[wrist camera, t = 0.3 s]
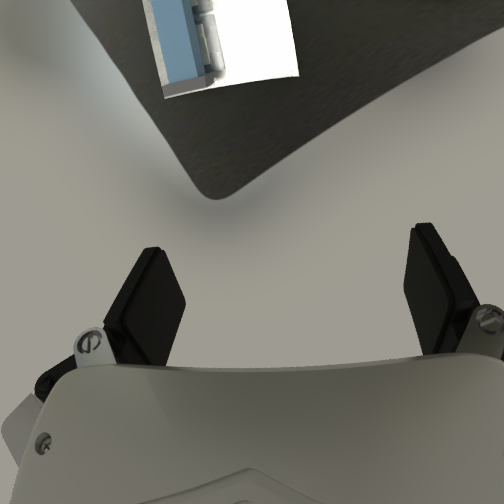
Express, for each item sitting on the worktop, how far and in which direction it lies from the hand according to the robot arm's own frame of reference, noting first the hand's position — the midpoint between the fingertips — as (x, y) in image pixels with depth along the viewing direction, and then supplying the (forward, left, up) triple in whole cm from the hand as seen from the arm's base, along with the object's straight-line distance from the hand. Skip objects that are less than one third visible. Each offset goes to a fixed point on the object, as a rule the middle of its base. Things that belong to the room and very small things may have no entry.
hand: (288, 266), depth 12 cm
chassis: (-14, -6, -30) cm, 34 cm away
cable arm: (-15, -9, -25) cm, 31 cm away
